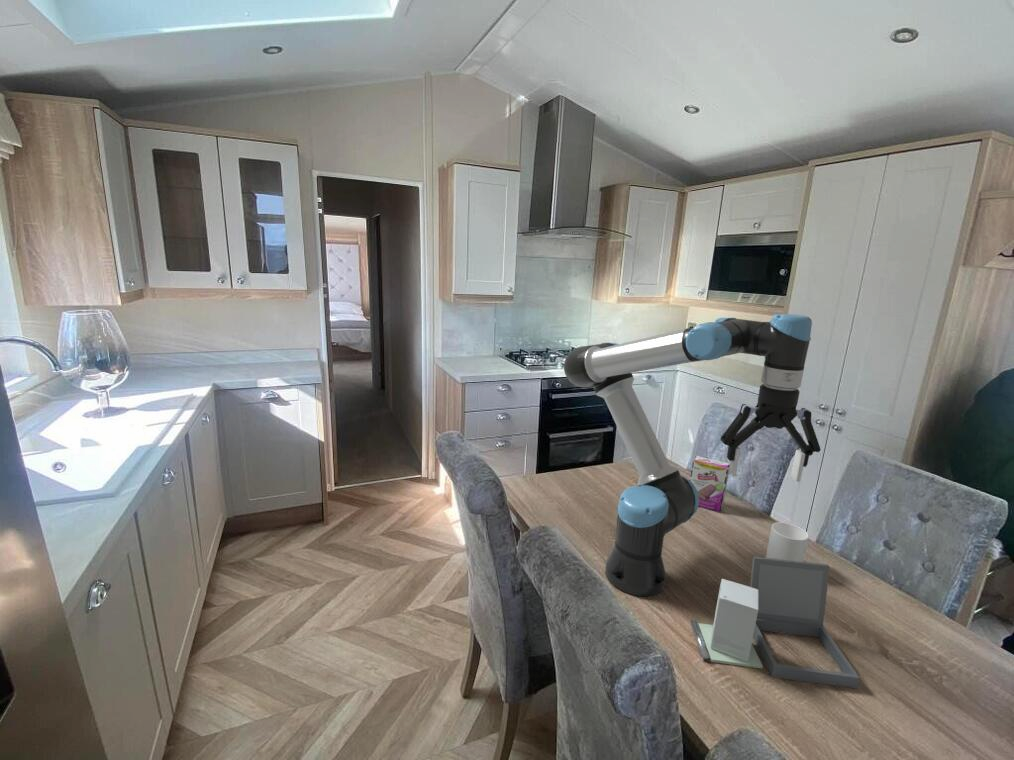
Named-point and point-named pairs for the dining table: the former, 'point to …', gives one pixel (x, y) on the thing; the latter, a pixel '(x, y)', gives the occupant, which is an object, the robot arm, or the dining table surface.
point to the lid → (790, 590)
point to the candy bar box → (710, 482)
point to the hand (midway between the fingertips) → (763, 476)
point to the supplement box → (735, 619)
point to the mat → (724, 658)
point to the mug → (787, 542)
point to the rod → (699, 640)
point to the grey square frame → (800, 673)
